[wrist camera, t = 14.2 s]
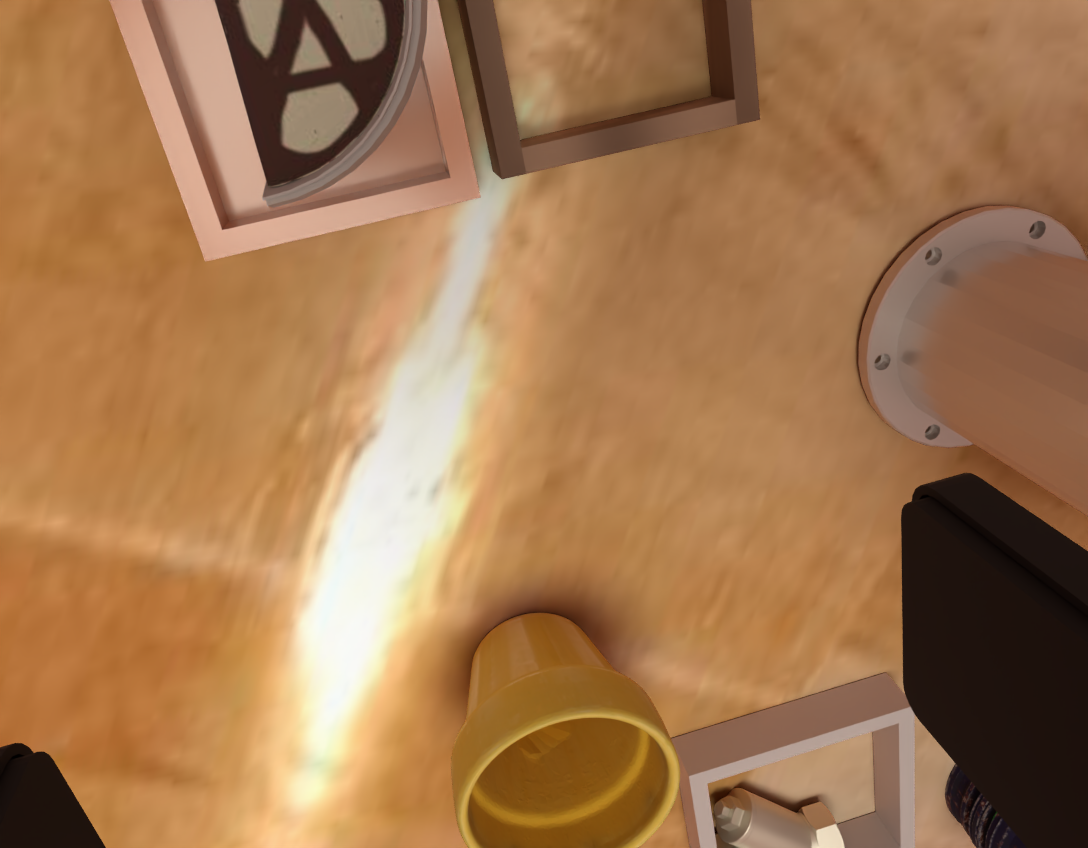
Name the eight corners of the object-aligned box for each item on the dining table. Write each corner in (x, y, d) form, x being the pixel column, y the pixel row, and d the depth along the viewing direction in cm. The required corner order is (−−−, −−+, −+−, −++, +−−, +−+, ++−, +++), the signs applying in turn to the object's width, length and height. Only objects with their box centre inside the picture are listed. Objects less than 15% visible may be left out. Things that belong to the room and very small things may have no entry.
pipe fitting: (694, 786, 55) (707, 864, 57) (716, 832, 51) (730, 914, 53) (811, 750, 56) (819, 828, 58) (841, 793, 52) (849, 875, 54)
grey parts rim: (885, 672, 53) (914, 705, 50) (889, 817, 59) (915, 854, 56) (671, 738, 52) (688, 776, 49) (695, 880, 57) (712, 922, 55)
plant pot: (574, 750, 51) (622, 898, 42) (408, 716, 47) (421, 869, 38) (653, 608, 48) (721, 735, 39) (482, 561, 44) (514, 688, 35)
